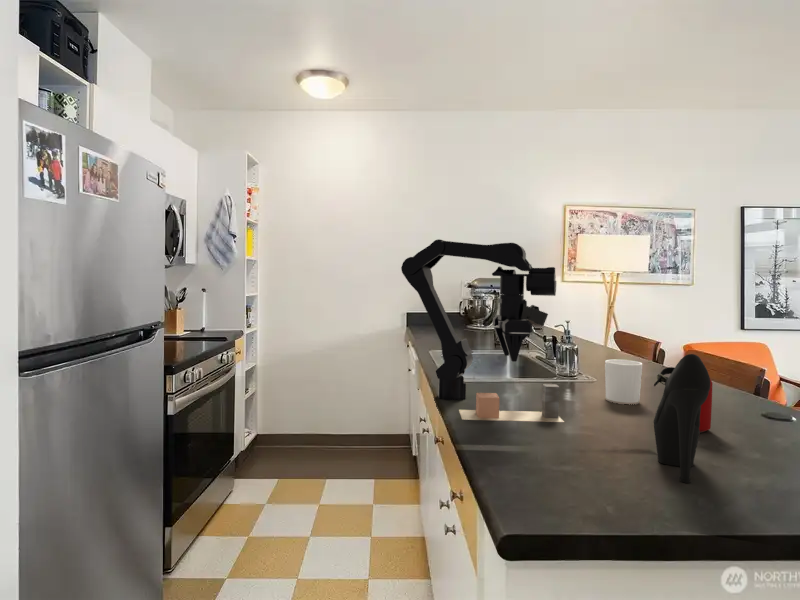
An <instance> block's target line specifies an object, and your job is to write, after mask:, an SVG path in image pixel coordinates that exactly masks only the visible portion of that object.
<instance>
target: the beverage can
mask: <svg viewBox="0 0 800 600" xmlns="http://www.w3.org/2000/svg"><path fill="white" fill-rule="evenodd" d="M710 382H711V385H710V391H709V394H708V397H707V399H706V401H705V402H704V403H703V404H702V405H701V412H700V428H699V430H700V433H704V432H706V431H708V430H710V429H711V427H712V408H713V381H712V379H711V378H710Z"/></svg>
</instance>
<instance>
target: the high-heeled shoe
mask: <svg viewBox="0 0 800 600" xmlns="http://www.w3.org/2000/svg"><path fill="white" fill-rule="evenodd" d="M665 375H669V377H668V376H665ZM656 379H657V380H656V381H655V382H654V384H653V387H656V386H657V385H658V384H659V383H660V384H662V385H664V389H663V392H662V396H661V399H660V402H659V404H658V406H657V409H656V412H655V415H654V417H653V431H654V438H655V439H654V440H655V446H656V453H657V461H658V463H660V464H662V465H668V466H676V467H679V470H680V471H679V474H680V475H679V481H680V482H682V483H685V484H688V483H691V478H690V477H691V467H693V466H694V464H695V463H694V461H695V456H696V452H697V447H698V443H699V439H700V433H701V432H700V430H699V428H700V412H701V405H702V404H703V403H704V402H705V401H706V399H707V397H708V394H709V391H710V385H711V382H710V379H711V378H710V374H709V372H708V369H707V368H706V365H705V364H704V362H703V360H702V359H701V357H699V355H697V354H694V353H689V354H686V355H684V356H683V357H682V358H681V359H680V360H679V361H678V362H677V364H676V365H675V367H672V366H671V367H665V368H663V369H662V370H661V371H660V372H659V373H658V374H657V375H656Z"/></svg>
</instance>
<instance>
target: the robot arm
mask: <svg viewBox="0 0 800 600" xmlns="http://www.w3.org/2000/svg"><path fill="white" fill-rule="evenodd" d="M446 256H447V257H448V256H449V257H460V258H465V259H466V258H467V259H473V260H475V259H476V260H483V261H484V260H485V261H488V262H491V263H495V264H498V265H502V266H506V267H508V268H509V267H510V268H516V269H518V270H519V271H521V272H528V273H517V272H516V269H503V267H502V266H497V269H496V270H495V271H493V272H492V273H491V275H492V276H493V277H500V279H499V282H500V283H499V298H498V299H497V303H499V314H496V315H495V316H493V318H492V326H493V330H494V331H495V334H496V336H497V339H498V342H499V344H500V347H501V350H502V352H503V355H504V356H506V357H507V356H509V358H510V360H511V362H515V363H516V362H517V361H518V357H519V353H520V351H521V347H522V344H523V341H524V340H525V339H526V338H527V337H529V336H530V335H531V334H533V324H532V323H531V322H533V323H534V324H537V325H539V326H542V327H543V326H544V325H545V324H546V321H547V318H548V316H549V314H548V313H547V312H545V311H542V310H540V307H539V306H536V305H534V304H530V306H529V305H528V301H527V300H526V299H524V298H525V294H524V293H525V290H526V292H530V295H531V296H545V297H547V296H548V297H550V296H551V297H556V294H557V279H556V267H555V266H551V267H550V266H548V267H533V266H532V264H531V263H530V262H529V261H528V260H527V253H526V250H525V248H523V247H522V245H519V244H518V243H515V242H503V243H501V242H500V243H493V244H479V243H477V244H476V243H469V242H462V241H461V242H459V241H450V240H449V241H448V240H443V239H440V238H439V239H436V240H434V241H433V242H432V243H430V244H429V245H428V246H427V247H425V248H423V249H422V250H420V251H418V252H417V253H416V254H415V255H413V256H409V257H407V258H405V259H404V260H403V262H402V264H401V268H400V269H401V273H402V275H403V277H404V278H405V279H406V280H407V282H408V284H409V285H410V286H411V287H412V288H413V289H414V290H415V291H416V292H417V294H418V295H419V298H420V300H421V303H422V304H423V306H424V309H425V311H426V313H427V315H428V317H429V319H430V321H431V324H432V326H433V328H434V330H435V332H436V334H437V336H438V339H439V342H440V346H441V355H442V358H443V363H442V364H441V365H440V366H439V367H438V368H437V369H436V370H435V374H436V377H437V379H438V387H437V388H438V390H437V391H438V393H437V394H438V400H445V401H459V400H466V399H467V397H466V396H467V395H466V394H467V384H466V382H465V380H464V378H465V377H464V376H463V375H465V372H466V370H468V369H469V368H470V367H471V366H472V364H473V361H474V358H473V353H474V351H473V350H472V349H471V347H470V344H469V341H468V339H467V338H463V339H462V338H460V337H459V336H458V335H457V333H456V332H455V331H456V330H455V329H454V327H453V324H452V322H451V320H450V318H449V316H448V314H447V311H446V310H445V308H444V305H443V303H442V302H441V299H440V296H439V295H438V294H437V291H436V289H435V286H434V278H433V273H432V268H434V267H435V266H436V265H437V264H438V263H439V262H440V261H441V259H443V258H444V257H446ZM525 277H526V278H525ZM544 327H545V326H544Z"/></svg>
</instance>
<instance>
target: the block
mask: <svg viewBox="0 0 800 600" xmlns="http://www.w3.org/2000/svg"><path fill="white" fill-rule="evenodd" d="M475 397H476V398H475V402H476V403H475V410H476V413H477V415H478V418H499V411H500V397H499V395H498V393H496V392H476V396H475Z"/></svg>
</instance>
